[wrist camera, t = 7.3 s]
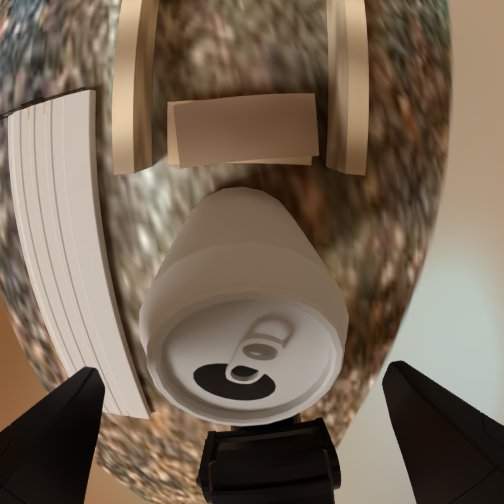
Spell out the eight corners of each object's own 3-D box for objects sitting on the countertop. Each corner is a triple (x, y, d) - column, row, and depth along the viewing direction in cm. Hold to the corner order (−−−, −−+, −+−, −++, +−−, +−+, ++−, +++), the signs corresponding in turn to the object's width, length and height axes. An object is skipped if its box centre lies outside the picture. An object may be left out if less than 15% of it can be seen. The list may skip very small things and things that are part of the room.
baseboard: (76, 396, 26) (152, 408, 27) (68, 413, 23) (148, 428, 24) (4, 119, 14) (100, 90, 15) (-18, 120, 12) (80, 85, 12)
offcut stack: (303, 162, 17) (321, 169, 14) (175, 162, 17) (159, 169, 13) (305, 103, 16) (324, 94, 12) (174, 102, 15) (158, 92, 12)
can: (170, 270, 20) (116, 409, 9) (204, 167, 17) (150, 223, 6) (268, 302, 21) (297, 446, 10) (313, 209, 19) (409, 311, 8)
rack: (343, 168, 18) (365, 175, 14) (134, 167, 17) (114, 174, 14) (339, -26, 12) (356, -48, 9) (148, -30, 11) (134, -52, 8)
